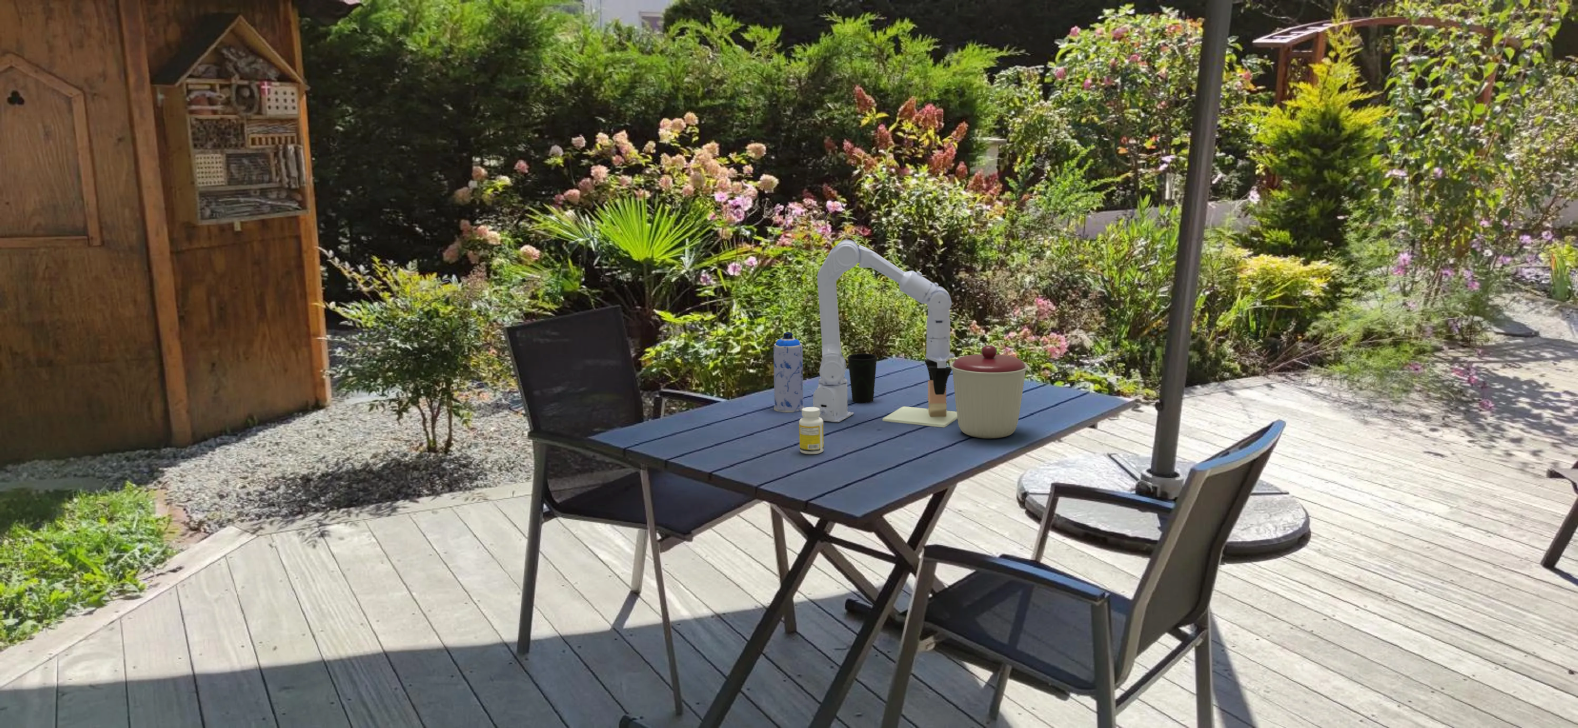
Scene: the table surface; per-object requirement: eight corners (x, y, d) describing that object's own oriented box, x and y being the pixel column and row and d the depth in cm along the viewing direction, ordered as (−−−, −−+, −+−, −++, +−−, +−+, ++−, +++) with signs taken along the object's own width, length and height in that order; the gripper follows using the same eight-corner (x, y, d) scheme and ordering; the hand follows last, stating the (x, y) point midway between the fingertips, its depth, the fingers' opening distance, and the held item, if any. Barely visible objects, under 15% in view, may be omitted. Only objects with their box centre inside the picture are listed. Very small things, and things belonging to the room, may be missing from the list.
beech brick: (946, 416, 281) (946, 403, 280) (930, 416, 281) (930, 403, 280) (944, 412, 285) (944, 399, 284) (928, 412, 285) (928, 399, 284)
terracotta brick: (946, 403, 280) (946, 383, 279) (929, 403, 280) (930, 383, 279) (943, 399, 284) (944, 380, 283) (927, 399, 284) (928, 380, 283)
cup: (876, 404, 297) (875, 359, 295) (847, 404, 299) (846, 359, 296) (878, 396, 305) (878, 353, 302) (850, 396, 306) (849, 353, 303)
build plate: (944, 427, 273) (944, 425, 273) (882, 420, 280) (882, 418, 280) (962, 414, 285) (962, 412, 285) (903, 408, 292) (903, 406, 292)
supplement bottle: (809, 446, 258) (809, 404, 256) (828, 450, 254) (828, 408, 252) (794, 452, 254) (794, 409, 252) (813, 456, 250) (813, 413, 248)
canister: (1026, 445, 257) (1029, 353, 253) (946, 441, 260) (947, 351, 256) (1026, 425, 274) (1029, 339, 270) (951, 422, 278) (952, 337, 274)
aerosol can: (806, 411, 291) (805, 334, 287) (776, 413, 290) (774, 335, 286) (801, 404, 298) (800, 329, 294) (771, 406, 297) (770, 330, 293)
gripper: (958, 342, 272) (957, 397, 275) (950, 331, 286) (949, 384, 289) (929, 342, 272) (928, 397, 275) (922, 332, 286) (921, 384, 289)
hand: (937, 390), depth 282 cm, fingers open, 7 cm apart
